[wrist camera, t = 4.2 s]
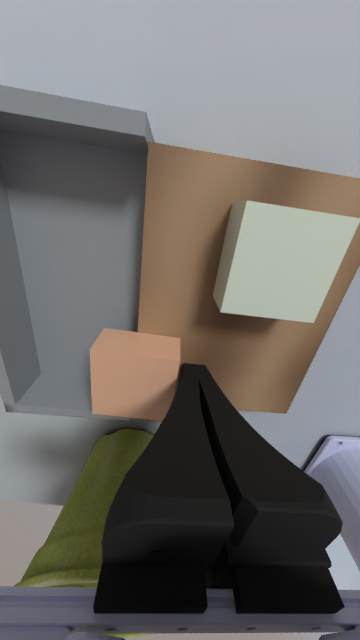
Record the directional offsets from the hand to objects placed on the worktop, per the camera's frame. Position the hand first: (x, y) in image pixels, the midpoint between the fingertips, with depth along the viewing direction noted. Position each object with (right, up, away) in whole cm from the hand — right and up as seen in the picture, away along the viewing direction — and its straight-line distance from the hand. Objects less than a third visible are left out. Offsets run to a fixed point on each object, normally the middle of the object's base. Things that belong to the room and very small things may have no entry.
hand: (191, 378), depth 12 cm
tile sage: (+3, +6, -2) cm, 7 cm away
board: (+2, +4, +1) cm, 5 cm away
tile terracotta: (-3, +1, +1) cm, 3 cm away
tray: (-6, +5, +1) cm, 8 cm away
